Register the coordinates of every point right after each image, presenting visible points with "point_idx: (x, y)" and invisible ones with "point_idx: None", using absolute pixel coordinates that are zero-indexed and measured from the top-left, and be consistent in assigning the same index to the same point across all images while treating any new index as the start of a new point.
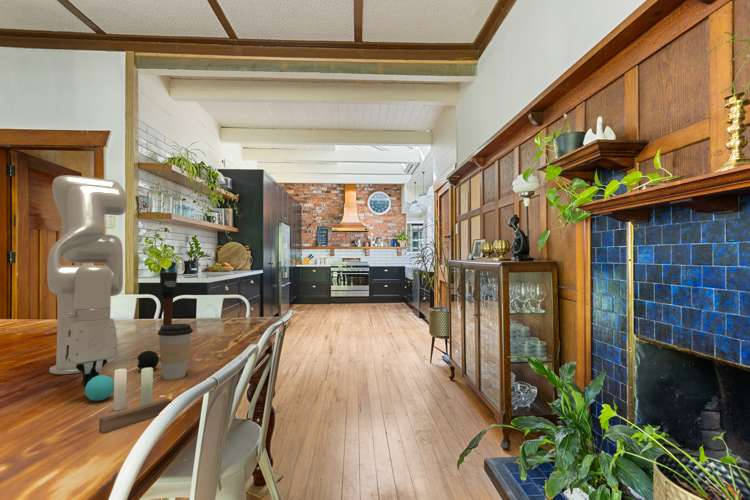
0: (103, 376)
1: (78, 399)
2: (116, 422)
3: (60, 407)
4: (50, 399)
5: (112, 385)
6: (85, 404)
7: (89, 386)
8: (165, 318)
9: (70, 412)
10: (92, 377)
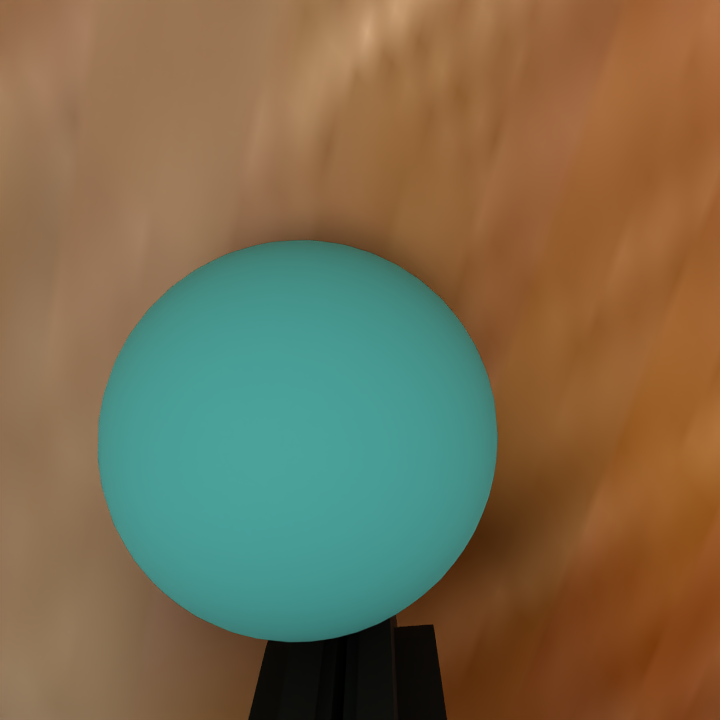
0: (225, 470)
1: None
2: None
3: (655, 427)
4: (618, 702)
5: (151, 309)
6: None
7: (480, 387)
8: None
9: (662, 179)
10: (352, 694)
